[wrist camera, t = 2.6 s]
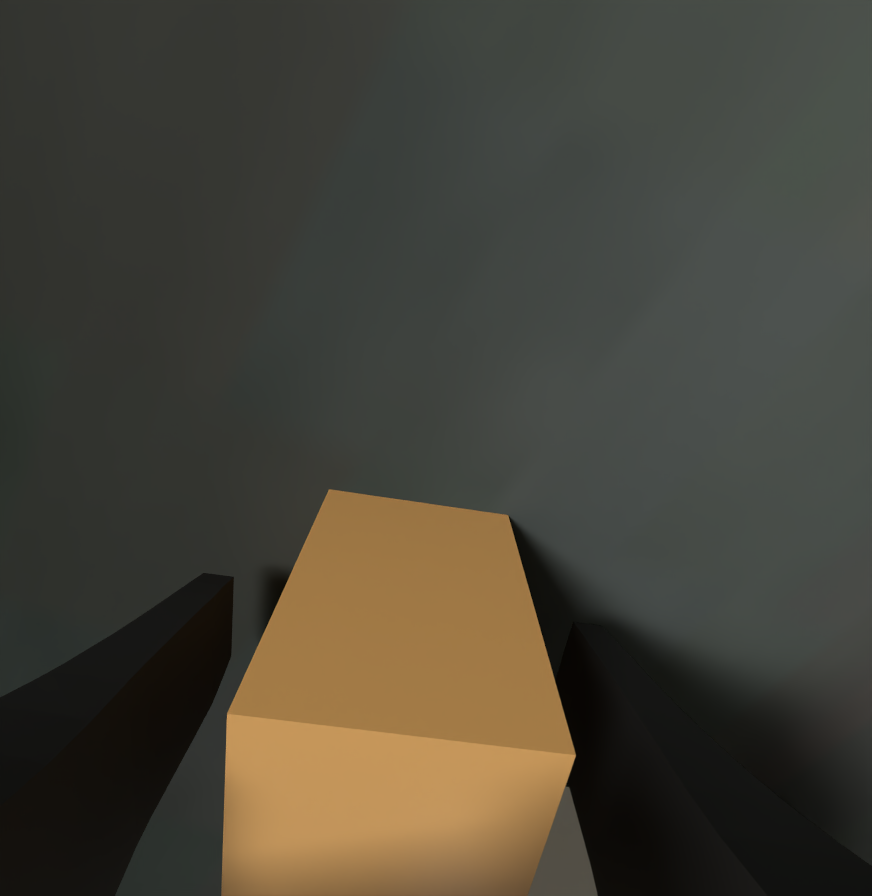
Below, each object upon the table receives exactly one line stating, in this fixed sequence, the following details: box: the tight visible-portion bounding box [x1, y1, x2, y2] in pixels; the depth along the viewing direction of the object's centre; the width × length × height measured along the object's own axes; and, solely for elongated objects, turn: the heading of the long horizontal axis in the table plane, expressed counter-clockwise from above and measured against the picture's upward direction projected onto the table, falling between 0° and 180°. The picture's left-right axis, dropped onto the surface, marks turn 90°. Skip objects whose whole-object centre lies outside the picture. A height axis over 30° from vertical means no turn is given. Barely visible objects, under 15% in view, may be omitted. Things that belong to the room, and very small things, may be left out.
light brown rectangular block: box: [222, 489, 576, 896], centre depth 10 cm, size 4×5×6 cm
